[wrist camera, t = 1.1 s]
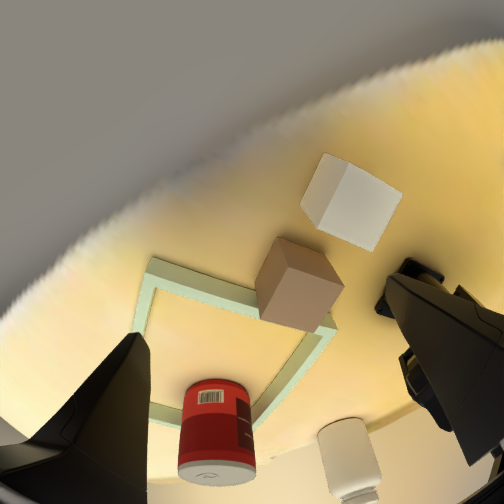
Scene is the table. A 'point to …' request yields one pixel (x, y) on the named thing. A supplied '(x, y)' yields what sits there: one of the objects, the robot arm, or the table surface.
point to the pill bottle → (349, 462)
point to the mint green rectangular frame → (237, 302)
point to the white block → (349, 202)
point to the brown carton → (296, 286)
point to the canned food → (216, 435)
